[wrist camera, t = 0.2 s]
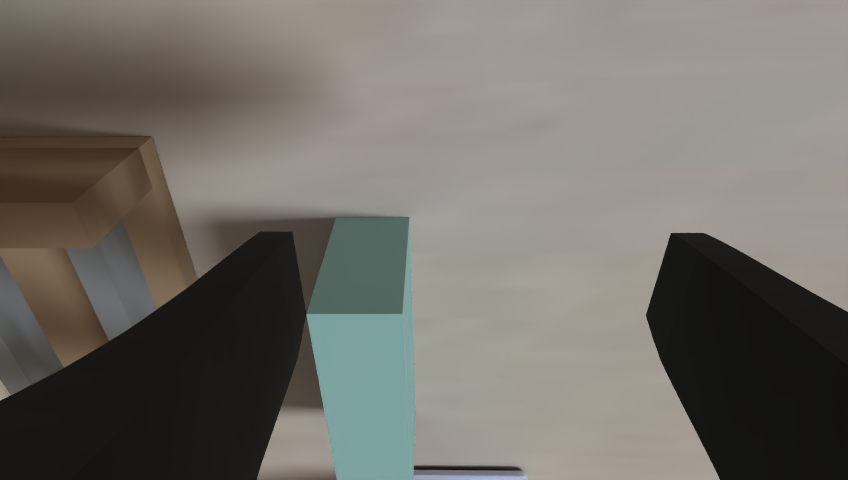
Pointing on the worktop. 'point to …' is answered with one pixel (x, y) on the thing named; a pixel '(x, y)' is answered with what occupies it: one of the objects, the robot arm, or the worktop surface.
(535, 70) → the worktop surface
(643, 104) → the worktop surface
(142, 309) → the track board
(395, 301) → the long teal rectangular block
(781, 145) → the worktop surface
